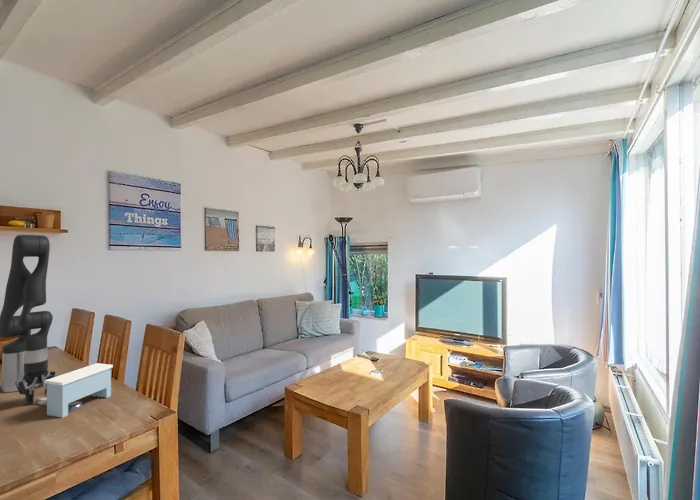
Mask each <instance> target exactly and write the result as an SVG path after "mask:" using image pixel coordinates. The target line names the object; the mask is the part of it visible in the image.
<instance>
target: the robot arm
mask: <svg viewBox="0 0 700 500" xmlns="http://www.w3.org/2000/svg"><path fill="white" fill-rule="evenodd" d="M49 239H50V238H48V237H47V236H46V235H40V234H39V235H37V234H19V235H16V236H15V237H14V239H13V243H12V252H11V260H10V261H11V262H10V269H9V274H8V278H7V282H6V288H5V293H4V300H3V306H2V310H1V312H0V338H3V339H5V338H12V337H17V338H16V339H15V340H14V341H12V342H9V343H6V344H5V345H4V346H2V349H1V352H2V354H1V355H2V357H1V360H2V365H1V367H2V368H1V379H0V380H1V383H0V384H1V385H0V386H1V388H0V389H1V390H2V391H1V392H3V393H12V392H18V393H19V394H20V395H24V396H25V402H26V403H32V402H33V394H32V392H33V389H34V388H35V386H44V387H45V397H47V383H45V380H48V379H51V378H54V377H55V375H56V371H54V370H48V368H49V352H48V351H49V350H48V335H49V331H50V327H51V326H52V322H53V320H54V319H53V318H54V316H53V314H52V312H51V311H48V310H41V311H32V310H33V309H34V308H36V307H41V306H43V305H46V303H47V287H46V286H47V273H48V268H49V267H48V266H49V259H50V252H51V251H50V249H51V247H50V246H51V245H50V240H49ZM26 257H27V258H29V257H31V258H34V257H35V258H38V261H37V264H36V266H35V268H34V269H33V271H32V272H30V270H29V269H28V268H27V266H26V265H25V263H24V259H25V258H26ZM21 308H22V309H21ZM20 309H21V314H20V315H15V314H16V312H17V311H18V310H20ZM31 311H32V312H31ZM38 329H40V330H39V331H37V332H36V333H32V330H38ZM31 333H32V334H31Z"/></svg>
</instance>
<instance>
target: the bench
mask: <svg viewBox="0 0 700 500" xmlns="http://www.w3.org/2000/svg"><path fill="white" fill-rule="evenodd" d="M112 368H114V364H110V363H109V364H106V363H98V362H97V363H96V362H95V363H92V364H90V365H87V366H85V367H81V368H78V369H75V370H72V371H68V372H66V373H63V374H60V375H57V376H54V378H51V379H48V380H46V379H45V383H47V389H46V398H47V405H46V416H49V417H50V416H51V417H56V418H57V417H58V418H65V417H68V416H69V411H68V404H69V403H72V402H77V400H81V399H82V398H85V397H88V396H91V395H92V397H96V396H97V398H103V397H105V399H108V398H110V397H112ZM107 397H108V398H107Z"/></svg>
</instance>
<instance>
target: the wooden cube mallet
mask: <svg viewBox="0 0 700 500" xmlns="http://www.w3.org/2000/svg"><path fill="white" fill-rule="evenodd" d="M32 394H33V402H32V403H27V402H26V403H27V404H28V405H32V406H33V405H34V406H35V405H41V406H47V396H45V387H44V386H39V385H35V388H34V389H33V392H32Z"/></svg>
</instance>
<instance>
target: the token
mask: <svg viewBox="0 0 700 500" xmlns="http://www.w3.org/2000/svg"><path fill="white" fill-rule="evenodd" d="M82 408H83V401H81V400H80V401H77V400H76V401H73V402H71V403H68V412H76V411H78V410H80V409H82Z"/></svg>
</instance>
